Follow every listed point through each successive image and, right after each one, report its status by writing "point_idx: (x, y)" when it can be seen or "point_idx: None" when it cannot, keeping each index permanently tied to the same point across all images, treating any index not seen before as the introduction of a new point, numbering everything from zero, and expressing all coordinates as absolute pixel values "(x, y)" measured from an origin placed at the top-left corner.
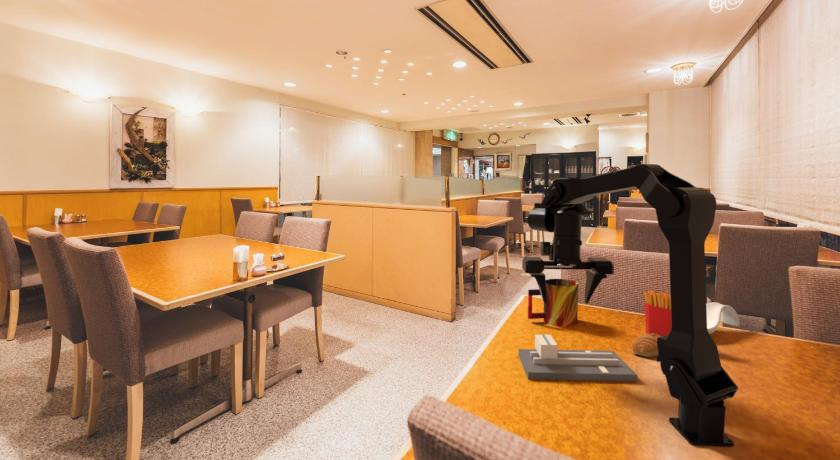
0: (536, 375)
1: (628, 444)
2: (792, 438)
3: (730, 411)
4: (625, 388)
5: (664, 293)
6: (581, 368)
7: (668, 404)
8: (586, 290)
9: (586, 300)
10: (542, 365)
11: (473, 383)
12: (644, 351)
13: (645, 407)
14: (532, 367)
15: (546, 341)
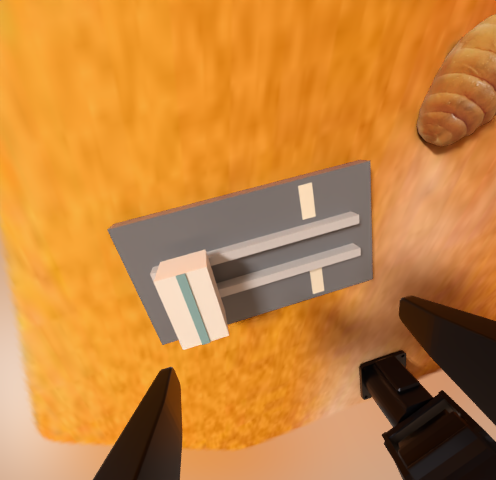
0: None
1: (297, 419)
2: None
3: None
4: (335, 302)
5: None
6: (274, 289)
7: (378, 325)
8: (480, 365)
9: (413, 334)
10: None
11: (58, 386)
12: (443, 145)
13: (344, 344)
14: (168, 322)
15: (196, 327)
